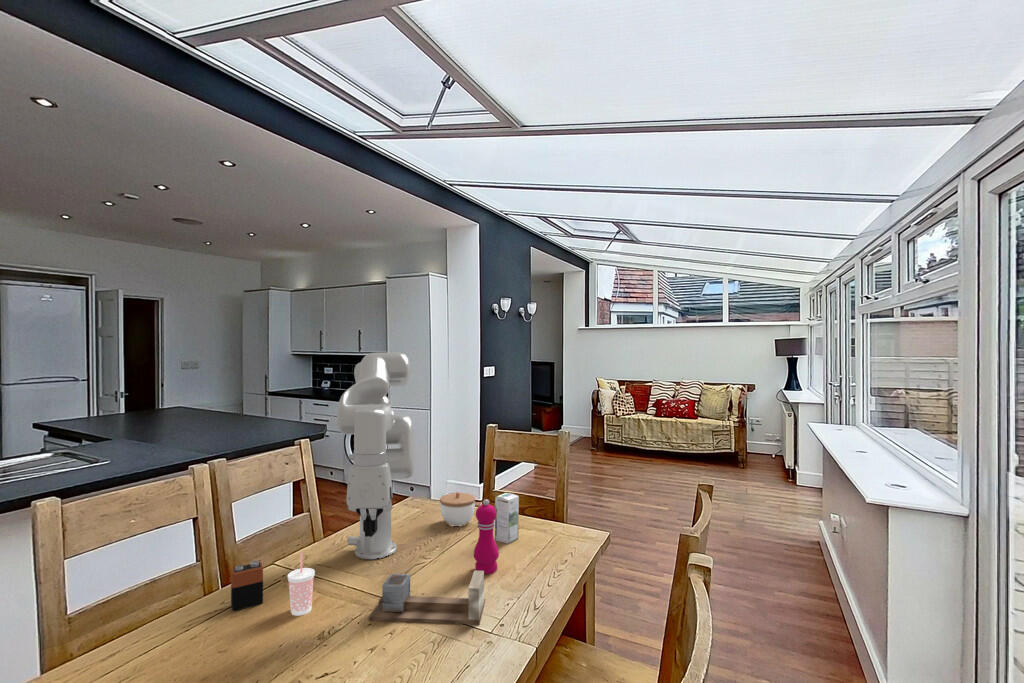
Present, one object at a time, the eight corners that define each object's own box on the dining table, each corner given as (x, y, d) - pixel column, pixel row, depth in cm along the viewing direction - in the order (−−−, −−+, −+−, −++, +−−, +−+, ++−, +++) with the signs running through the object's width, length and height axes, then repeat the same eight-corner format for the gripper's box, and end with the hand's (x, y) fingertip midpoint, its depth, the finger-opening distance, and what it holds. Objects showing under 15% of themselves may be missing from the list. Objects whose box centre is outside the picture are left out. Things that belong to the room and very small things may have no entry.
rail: (369, 620, 116) (369, 585, 116) (383, 598, 126) (383, 566, 126) (479, 624, 114) (479, 589, 114) (485, 602, 124) (485, 569, 124)
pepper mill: (495, 576, 138) (495, 504, 138) (470, 573, 140) (470, 502, 140) (501, 565, 145) (501, 496, 145) (477, 562, 147) (477, 494, 147)
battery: (263, 604, 124) (263, 563, 124) (232, 612, 120) (232, 570, 120) (261, 596, 127) (261, 557, 128) (230, 604, 124) (230, 563, 124)
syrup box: (504, 535, 168) (504, 492, 168) (519, 539, 165) (519, 495, 165) (494, 540, 163) (494, 496, 164) (509, 544, 160) (508, 499, 160)
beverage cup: (287, 607, 122) (287, 550, 122) (314, 601, 125) (314, 545, 125) (287, 619, 117) (287, 559, 117) (315, 614, 119) (315, 555, 119)
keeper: (382, 611, 118) (382, 585, 118) (390, 598, 124) (390, 573, 124) (403, 612, 118) (403, 586, 118) (410, 599, 124) (410, 574, 124)
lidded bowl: (435, 528, 174) (435, 497, 174) (446, 516, 187) (446, 486, 187) (470, 530, 172) (470, 498, 172) (478, 518, 185) (478, 488, 185)
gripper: (334, 462, 118) (334, 540, 118) (395, 463, 117) (395, 541, 117) (346, 455, 126) (346, 528, 126) (404, 456, 125) (404, 529, 124)
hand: (370, 534), depth 121 cm, fingers closed
